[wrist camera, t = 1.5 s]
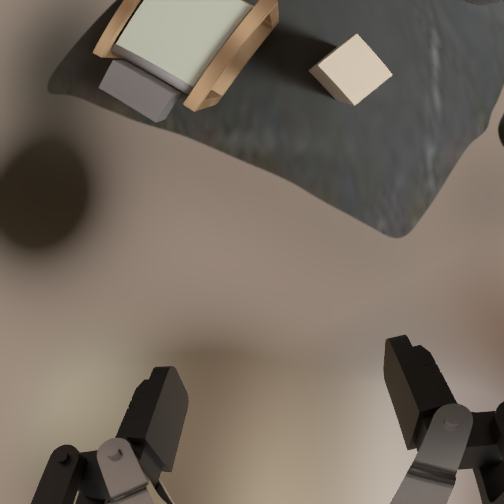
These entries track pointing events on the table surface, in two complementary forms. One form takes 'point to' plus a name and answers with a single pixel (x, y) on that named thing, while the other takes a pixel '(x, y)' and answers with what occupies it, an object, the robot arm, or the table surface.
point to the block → (350, 71)
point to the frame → (225, 61)
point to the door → (169, 50)
